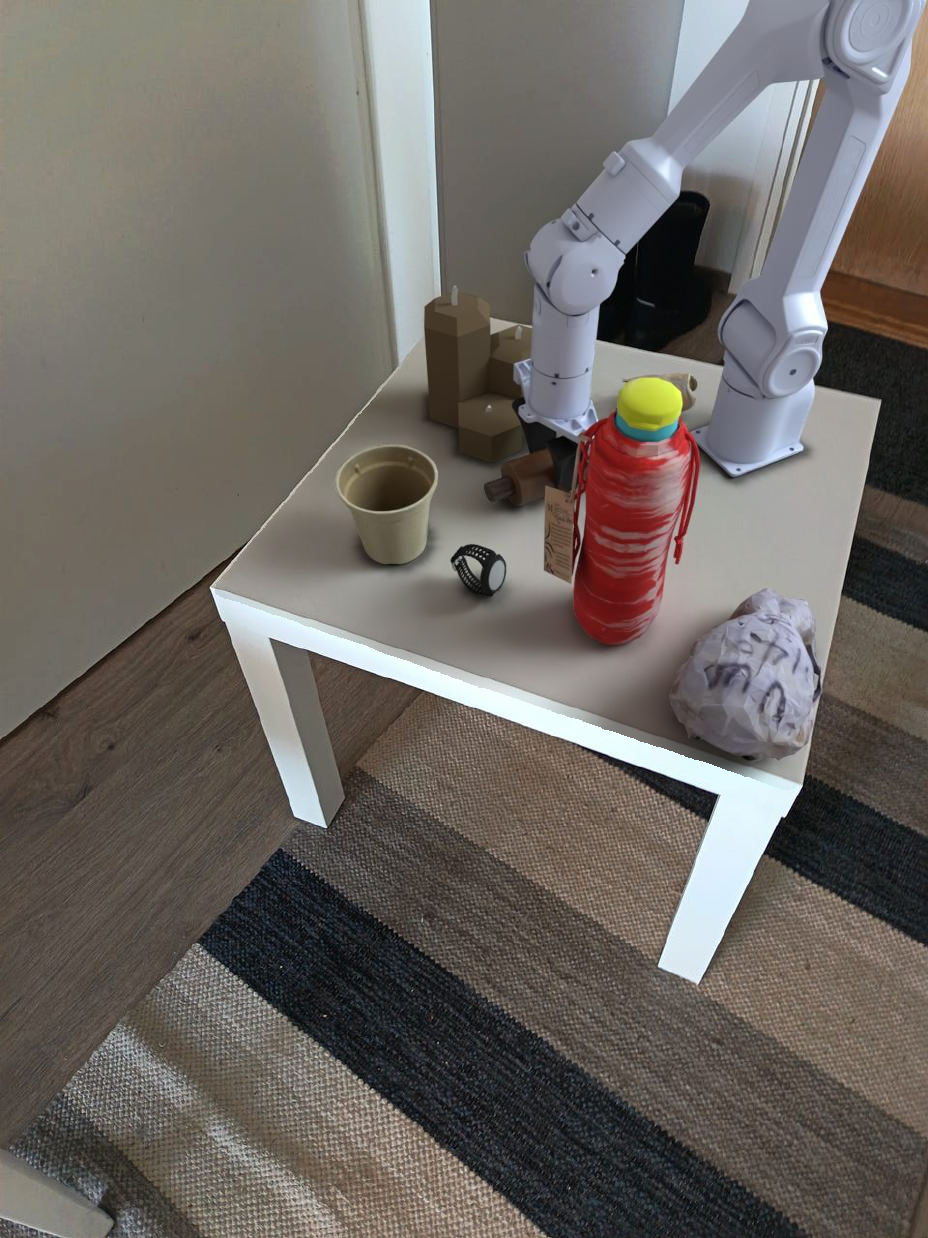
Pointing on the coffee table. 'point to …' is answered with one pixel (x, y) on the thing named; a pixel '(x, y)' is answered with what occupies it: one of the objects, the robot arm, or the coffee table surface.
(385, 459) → the flower pot
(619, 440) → the water bottle
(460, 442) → the candle
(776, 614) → the scribbled crumpled paper bundle
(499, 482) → the rolling pin
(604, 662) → the coffee table surface
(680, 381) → the shell
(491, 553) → the smartwatch
